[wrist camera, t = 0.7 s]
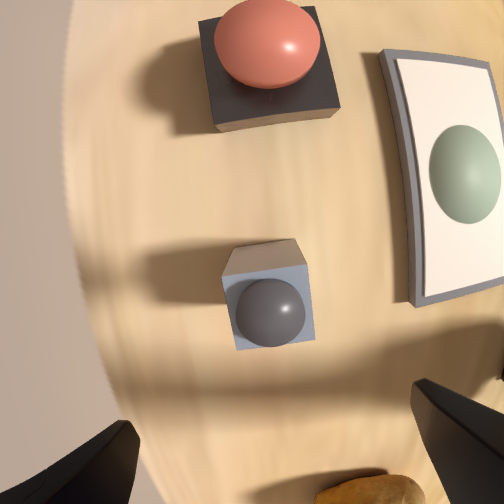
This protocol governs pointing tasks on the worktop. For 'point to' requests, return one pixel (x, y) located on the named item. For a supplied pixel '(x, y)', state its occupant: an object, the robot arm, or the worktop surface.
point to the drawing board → (448, 171)
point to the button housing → (267, 100)
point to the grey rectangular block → (268, 295)
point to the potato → (374, 491)
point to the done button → (267, 43)
